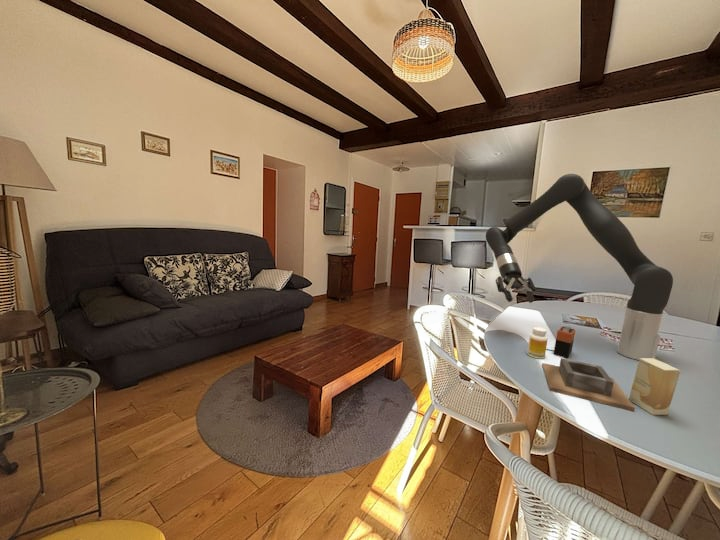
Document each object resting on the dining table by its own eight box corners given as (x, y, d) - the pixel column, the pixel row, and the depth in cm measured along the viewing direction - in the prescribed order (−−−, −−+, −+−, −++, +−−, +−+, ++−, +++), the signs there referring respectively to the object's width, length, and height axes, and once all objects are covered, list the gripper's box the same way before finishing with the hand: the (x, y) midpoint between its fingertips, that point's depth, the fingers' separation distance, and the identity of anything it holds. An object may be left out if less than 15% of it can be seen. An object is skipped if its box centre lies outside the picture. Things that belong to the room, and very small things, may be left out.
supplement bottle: (547, 359, 98) (551, 332, 97) (530, 357, 99) (534, 330, 98) (540, 353, 104) (545, 327, 102) (524, 351, 105) (528, 325, 103)
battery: (571, 353, 105) (576, 327, 103) (567, 358, 100) (572, 331, 99) (557, 349, 108) (561, 323, 106) (553, 354, 103) (557, 327, 102)
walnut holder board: (612, 381, 86) (615, 365, 86) (634, 411, 72) (638, 393, 71) (541, 365, 94) (544, 351, 93) (549, 390, 80) (552, 373, 79)
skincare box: (627, 400, 77) (637, 357, 75) (642, 399, 77) (652, 357, 75) (653, 416, 71) (665, 369, 69) (669, 415, 71) (681, 369, 69)
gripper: (496, 260, 116) (508, 295, 107) (529, 262, 117) (544, 297, 108) (487, 271, 122) (498, 305, 113) (519, 272, 123) (533, 306, 114)
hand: (521, 301), depth 110 cm, fingers open, 8 cm apart
